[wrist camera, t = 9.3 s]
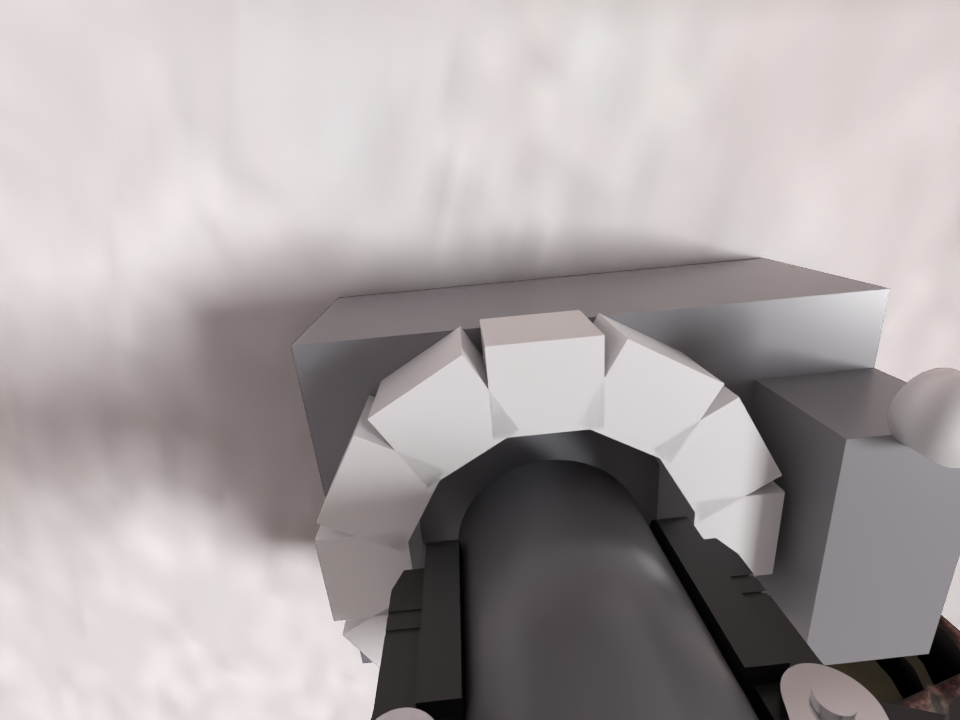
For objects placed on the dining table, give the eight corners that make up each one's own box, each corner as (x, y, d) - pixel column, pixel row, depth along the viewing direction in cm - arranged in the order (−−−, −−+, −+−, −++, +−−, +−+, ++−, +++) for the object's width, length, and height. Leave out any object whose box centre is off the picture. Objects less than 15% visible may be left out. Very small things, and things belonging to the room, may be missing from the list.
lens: (446, 468, 11) (436, 901, 4) (646, 448, 11) (931, 841, 4) (465, 620, 12) (480, 1109, 6) (640, 601, 13) (846, 1062, 6)
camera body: (337, 291, 16) (212, 409, 8) (764, 251, 16) (1090, 323, 8) (385, 550, 19) (335, 823, 11) (734, 514, 20) (938, 753, 11)
